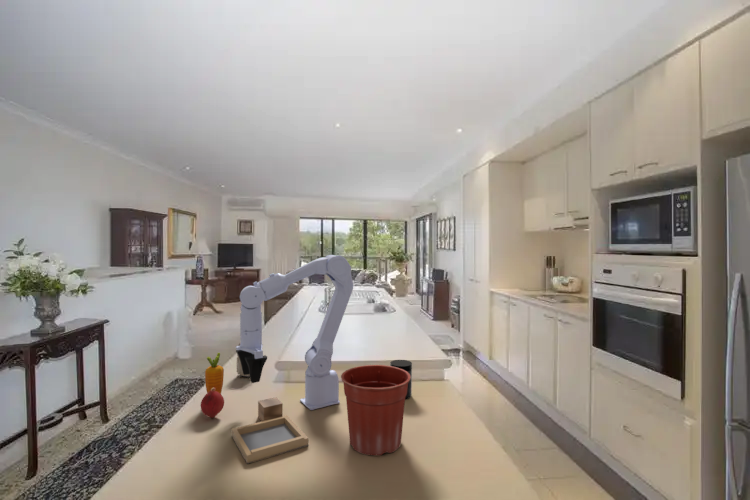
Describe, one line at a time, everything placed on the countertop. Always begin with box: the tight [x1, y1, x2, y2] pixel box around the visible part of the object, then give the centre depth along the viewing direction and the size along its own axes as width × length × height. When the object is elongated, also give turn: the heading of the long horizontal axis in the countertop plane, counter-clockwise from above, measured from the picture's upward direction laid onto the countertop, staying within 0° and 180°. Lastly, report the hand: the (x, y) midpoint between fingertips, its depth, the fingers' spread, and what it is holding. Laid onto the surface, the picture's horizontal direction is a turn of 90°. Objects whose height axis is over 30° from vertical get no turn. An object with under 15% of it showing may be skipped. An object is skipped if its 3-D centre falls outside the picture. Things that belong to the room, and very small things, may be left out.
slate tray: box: [231, 414, 309, 465], centre depth 91 cm, size 14×14×2 cm
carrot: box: [204, 352, 225, 395], centre depth 111 cm, size 5×5×15 cm
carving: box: [236, 342, 250, 377], centre depth 137 cm, size 6×8×12 cm
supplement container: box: [389, 359, 413, 401], centre depth 119 cm, size 7×7×10 cm
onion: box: [200, 388, 225, 419], centre depth 103 cm, size 6×6×8 cm
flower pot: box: [340, 364, 411, 456], centre depth 91 cm, size 16×16×16 cm
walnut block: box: [257, 397, 284, 422], centre depth 103 cm, size 5×5×4 cm
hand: (251, 377), depth 107 cm, fingers open, 7 cm apart
